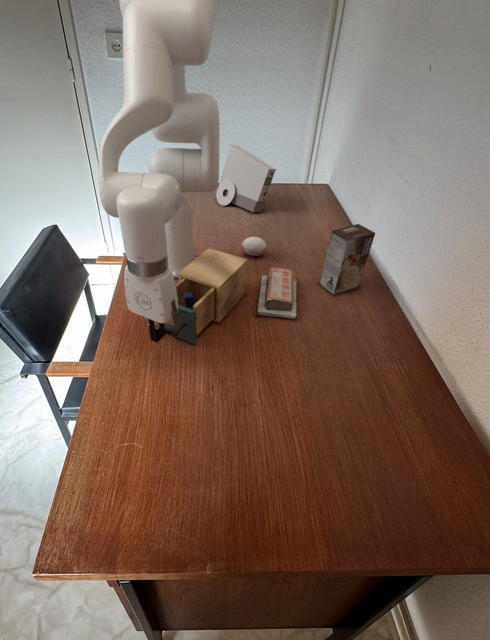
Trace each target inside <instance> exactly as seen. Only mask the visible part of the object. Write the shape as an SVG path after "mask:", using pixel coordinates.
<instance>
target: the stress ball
mask: <svg viewBox="0 0 490 640" xmlns="http://www.w3.org/2000/svg"><path fill="white" fill-rule="evenodd" d="M241 248H242V251H243V252H244V253H245V254H246V255H248V256H252V257H251V258H250V259H251V260H255V258H254V257H258V256H260V255H263V254H264V253H265V252H266V250H267V243H266V241H265V240H264V239H262V238H261V237H257V236H249V237H247V238H244V240H243V242H242V243H241Z"/></svg>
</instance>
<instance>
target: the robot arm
mask: <svg viewBox="0 0 490 640" xmlns="http://www.w3.org/2000/svg"><path fill="white" fill-rule="evenodd" d="M118 4H119V9H120V14H121V17H122V65H123V66H122V70H123V73H122V77H123V79H122V81H123V103H122V106H121V108H120V109H119V110H118V112H117V113H116V114H115V116H114V117H113V118H112V119H111V121H110V122H109V125H108V126H107V128H106V130H105V132H104V134H103V136H102V139H101V142H100V146H99V150H98V190H99V198H100V203H101V206H102V208H103V210H104V211H105V212H106V214H108V215H109V216H111V217H113V218H117V219H118V221H119V226H120V232H121V238H122V243H123V251H122V256H124V257H125V260H126V265H125V267H124V272H123V273H124V275H123V276H124V277H123V280H124V284H123V285H124V293H125V301H126V305H127V309H128V310H129V311H130V312H131V313H134V314H136V315H139V316H141V317H142V318H143V321H144V323H145V325H146V326H148V332H149V340H150V341H151V342H154V343H156V344H158V343H159V342H160V341H161V340H162V339H164V338H165V336H166V334H165V329H164V325H165V324H169V325H175V324H176V323H177V322H178V320H177V316H176V313H178V298H177V291H176V286H175V285H176V283H175V279H176V278H177V279H178V273H179V272H180V271H181V270H182V269H184V268H185V267H186V266H187V265H189V264H190V263H191V262H192V261H193V260H195V259H196V258H197V257H195V253H194V252H195V251H194V250H195V249H194V224H193V223H194V222H193V208H192V204H191V202H190V200H189V198H188V197H187V195H186V194H185V193H210V192H214V191H216V190H217V188H218V186H219V182H220V181H219V179H220V125H221V124H220V111H219V106H218V102H217V100H216V98H215V97H214V96H213V95H212V94H209V93H205V92H188V91H187V88H186V87H187V86H186V67H185V66H191V67H192V66H193V67H194V66H195V67H196V66H202V65H204V64H205V63H206V61H207V60H208V57H209V55H210V50H211V45H212V39H213V38H212V37H213V31H214V25H215V0H118ZM150 131H151V132H152V135H153V137H154V138H155V139H156V140H157V141H159V142H162V143H170V144H196V145H198V146H199V147H200V148H184V147H164V148H158V149H156V150H154V151H153V152H152V153H150V155H149V157H148V162H147V163H148V164H147V166H148V172H127V171H126V172H125V171H123V172H122V171H121V172H120V171H119V165H120V164H119V163H120V159H121V156H122V154H123V153H124V151H125V150H126V148H127V147H128V146H129V145H130V144H131V143H132V142H133V141H135V140H136V139H138V138H139V137H141V136H143V135H145V134H147V133H149V132H150Z"/></svg>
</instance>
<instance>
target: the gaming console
mask: <svg viewBox="0 0 490 640" xmlns="http://www.w3.org/2000/svg"><path fill="white" fill-rule="evenodd" d="M223 165H224V166H223V168H222V173H221V176H220V181H219V183H218V185H217V187H216V192H215V197H216V201H217V203H218V204H219V205H220V206H223V207H224V206H228V205H229V204H233V205H235V206H238V207H240V208H242V209H245V210H247V211H249V212H251V213H259V212H263V209H264V206H265V203H266V198H267V195H268V193H269V190H270V187H271V184H272V181H273V179H274V176H275V173H276V170H277V168H275V167H274V166H272V165H270V164H269V163H268V162H265V161H264V160H263V159H260V158H259V157H257V156H256V155H255V154H253V153H251V152H250V151H248V150H246V149H245V148H244V147H242V146H240V145H237V144H229V148H228V151H227V155H226V158H225V162H224V164H223Z"/></svg>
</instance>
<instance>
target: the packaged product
mask: <svg viewBox="0 0 490 640" xmlns="http://www.w3.org/2000/svg"><path fill="white" fill-rule="evenodd" d="M293 274H294V273H293V271H292V270H291V269H289V268H286V267H285V268H283V267H273V266H272V267H269V270H268V273H267V274H263V275H261V281H260V287H259V295H258V304H257V316H263V317H264V316H265V317H273V318H274V317H275V318H287V319H291V320H296V318H297V278H294V276H293Z"/></svg>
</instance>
